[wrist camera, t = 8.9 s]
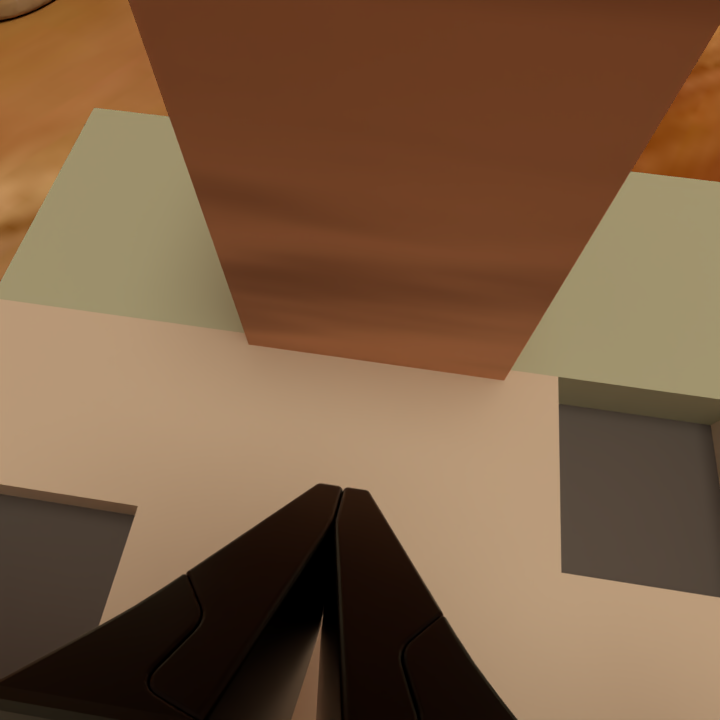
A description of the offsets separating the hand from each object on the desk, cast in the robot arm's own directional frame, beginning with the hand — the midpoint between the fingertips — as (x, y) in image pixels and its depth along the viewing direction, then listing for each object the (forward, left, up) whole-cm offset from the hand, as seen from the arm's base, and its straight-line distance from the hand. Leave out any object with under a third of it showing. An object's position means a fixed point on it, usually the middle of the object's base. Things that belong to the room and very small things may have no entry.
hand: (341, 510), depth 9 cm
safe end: (+7, +6, -6) cm, 11 cm away
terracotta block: (+7, +5, -4) cm, 9 cm away
